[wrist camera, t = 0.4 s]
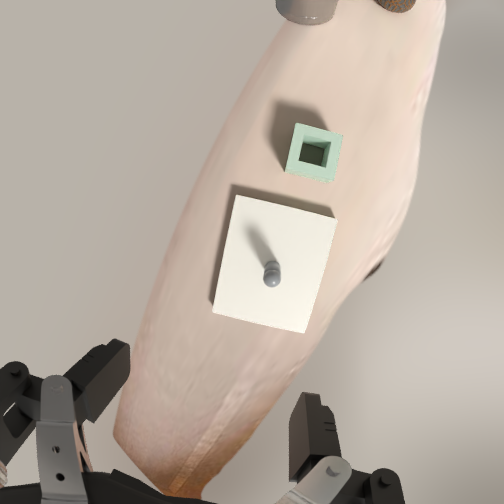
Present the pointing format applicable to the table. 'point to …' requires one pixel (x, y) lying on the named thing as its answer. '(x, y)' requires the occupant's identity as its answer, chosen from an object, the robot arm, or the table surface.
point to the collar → (319, 139)
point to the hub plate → (269, 244)
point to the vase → (397, 5)
